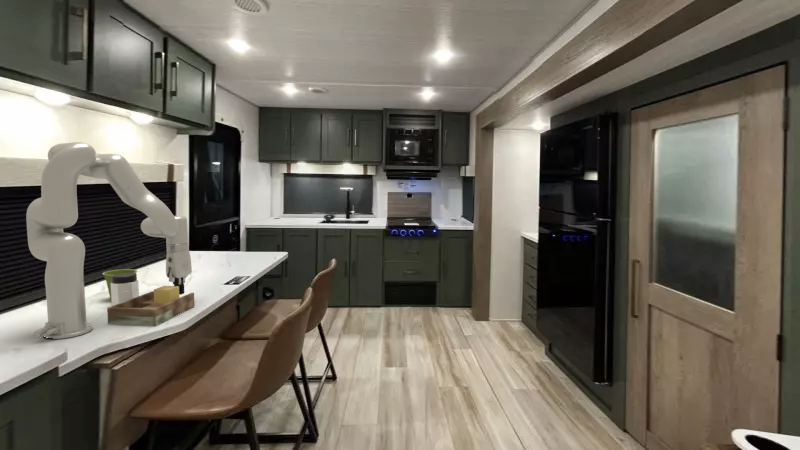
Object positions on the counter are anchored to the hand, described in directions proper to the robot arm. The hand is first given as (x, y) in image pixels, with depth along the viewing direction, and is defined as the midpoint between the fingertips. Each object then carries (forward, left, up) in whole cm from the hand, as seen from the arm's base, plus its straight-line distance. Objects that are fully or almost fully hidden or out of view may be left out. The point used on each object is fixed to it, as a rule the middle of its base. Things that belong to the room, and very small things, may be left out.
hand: (179, 293), depth 169 cm
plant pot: (+3, +26, -4) cm, 27 cm away
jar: (-5, +18, -4) cm, 20 cm away
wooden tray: (-15, 0, -4) cm, 16 cm away
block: (-8, 0, -1) cm, 8 cm away
